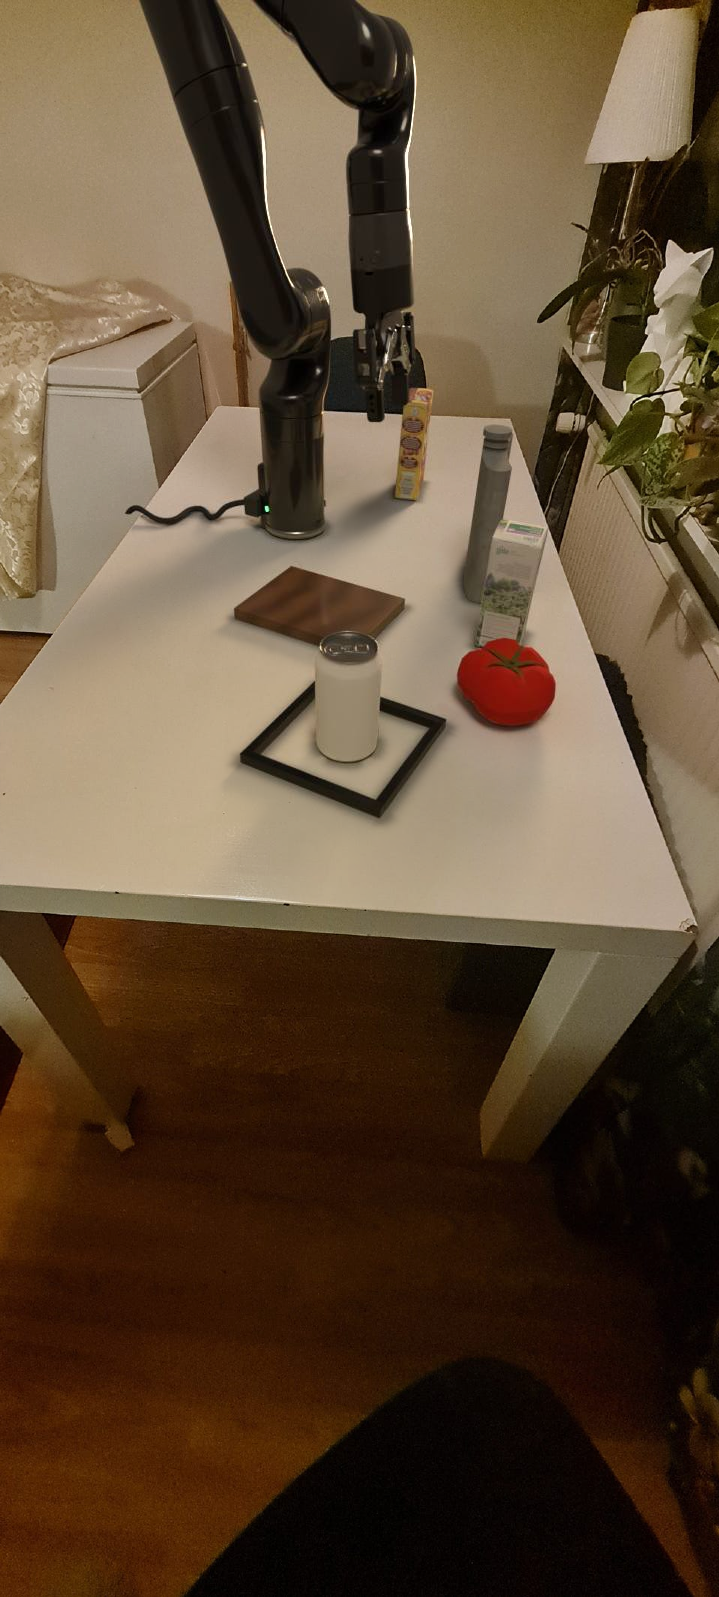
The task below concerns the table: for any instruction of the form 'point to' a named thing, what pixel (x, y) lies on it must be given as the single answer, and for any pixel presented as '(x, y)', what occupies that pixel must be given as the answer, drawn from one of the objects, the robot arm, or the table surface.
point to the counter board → (318, 606)
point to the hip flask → (487, 506)
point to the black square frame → (333, 790)
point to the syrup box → (510, 581)
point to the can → (347, 695)
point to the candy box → (413, 443)
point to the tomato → (507, 682)
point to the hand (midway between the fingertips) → (388, 412)
